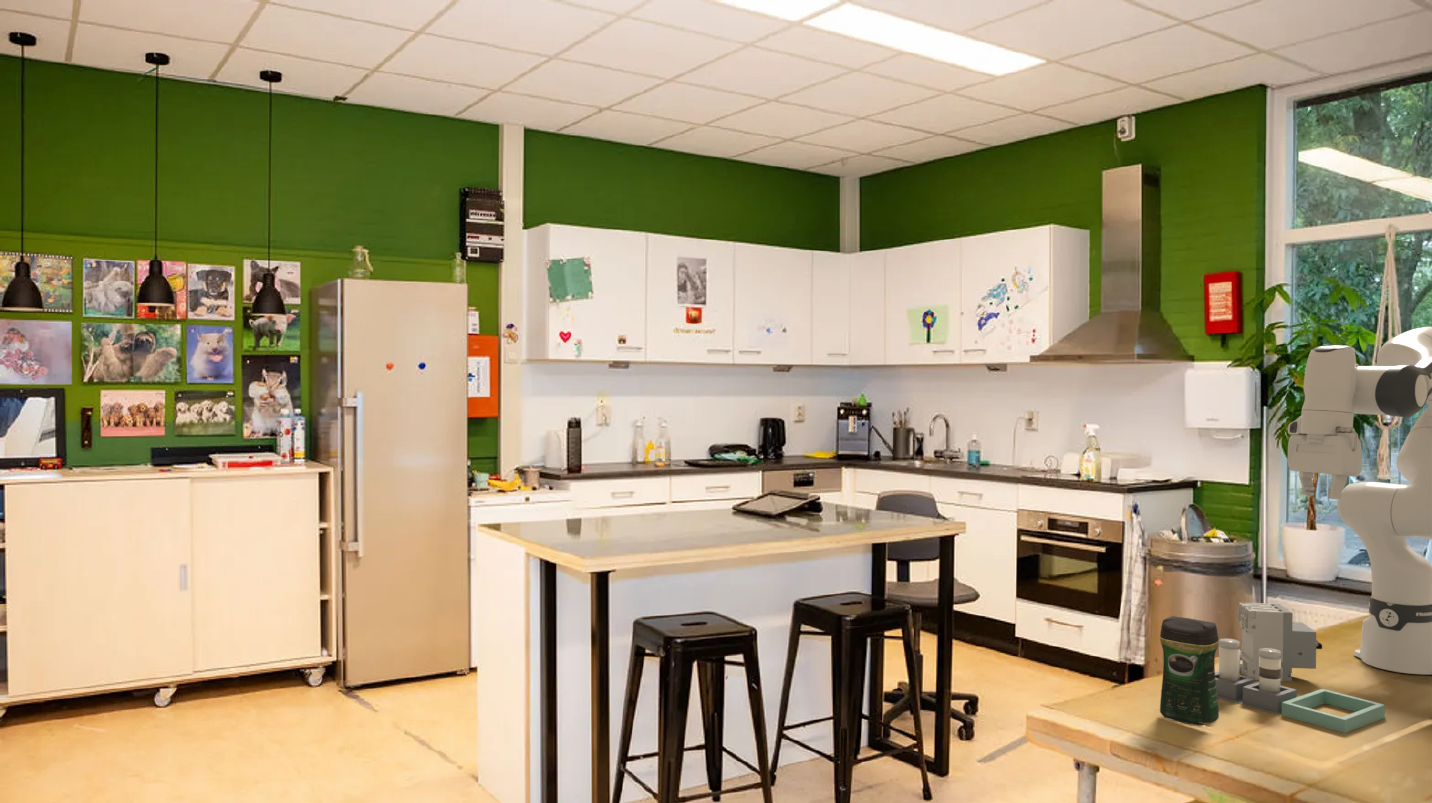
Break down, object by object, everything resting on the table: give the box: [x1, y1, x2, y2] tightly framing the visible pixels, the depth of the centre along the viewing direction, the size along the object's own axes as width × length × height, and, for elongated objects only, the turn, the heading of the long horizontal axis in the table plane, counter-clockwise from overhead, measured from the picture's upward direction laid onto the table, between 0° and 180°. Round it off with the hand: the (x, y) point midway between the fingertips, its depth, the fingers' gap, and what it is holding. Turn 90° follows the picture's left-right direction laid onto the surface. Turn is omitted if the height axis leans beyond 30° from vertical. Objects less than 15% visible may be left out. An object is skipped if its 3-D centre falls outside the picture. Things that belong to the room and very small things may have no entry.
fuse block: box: [1215, 671, 1298, 715], centre depth 197 cm, size 9×15×4 cm, turn 32°
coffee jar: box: [1159, 615, 1220, 726], centre depth 189 cm, size 10×8×19 cm
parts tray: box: [1281, 688, 1386, 734], centre depth 187 cm, size 14×11×3 cm
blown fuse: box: [1258, 648, 1282, 694], centre depth 193 cm, size 4×4×10 cm
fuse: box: [1218, 638, 1241, 683], centre depth 200 cm, size 4×4×10 cm
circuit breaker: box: [1237, 602, 1323, 682], centre depth 211 cm, size 8×14×15 cm, turn 78°
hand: (1320, 497), depth 201 cm, fingers open, 8 cm apart
